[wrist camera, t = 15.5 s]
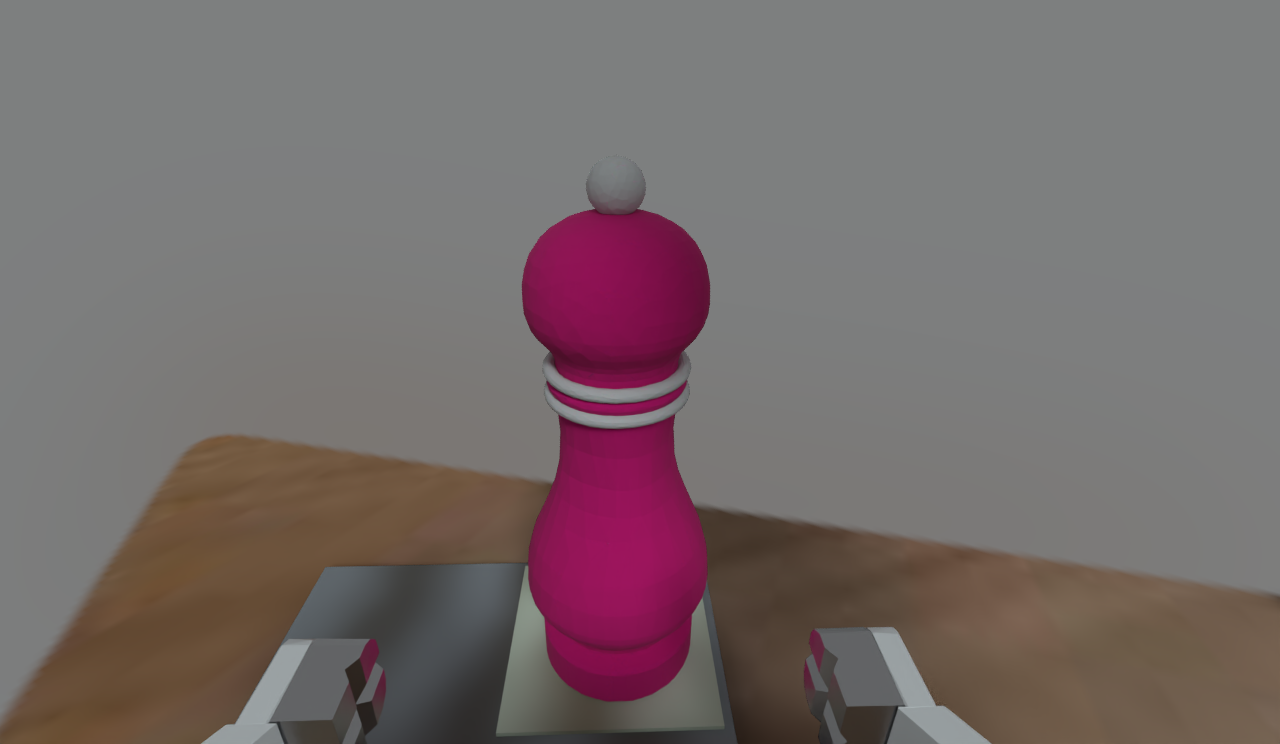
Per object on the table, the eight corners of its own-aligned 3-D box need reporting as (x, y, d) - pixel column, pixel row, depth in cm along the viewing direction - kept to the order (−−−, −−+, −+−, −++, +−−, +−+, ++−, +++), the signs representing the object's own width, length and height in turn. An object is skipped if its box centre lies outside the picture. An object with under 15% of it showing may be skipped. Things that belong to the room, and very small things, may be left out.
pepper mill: (590, 557, 31) (576, 138, 22) (724, 609, 28) (771, 151, 19) (499, 669, 25) (432, 161, 16) (658, 748, 22) (681, 184, 13)
